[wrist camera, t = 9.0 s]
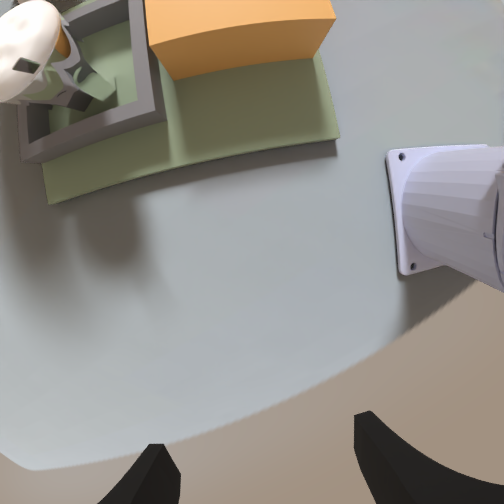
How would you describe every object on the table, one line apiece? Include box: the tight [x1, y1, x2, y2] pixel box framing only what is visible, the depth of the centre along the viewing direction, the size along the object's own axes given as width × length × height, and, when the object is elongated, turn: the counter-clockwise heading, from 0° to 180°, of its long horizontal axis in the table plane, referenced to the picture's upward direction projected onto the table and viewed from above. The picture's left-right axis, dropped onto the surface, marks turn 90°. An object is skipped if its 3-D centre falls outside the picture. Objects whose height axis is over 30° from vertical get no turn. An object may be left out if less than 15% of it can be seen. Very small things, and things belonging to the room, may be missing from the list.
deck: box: [17, 0, 340, 205], centre depth 13 cm, size 18×14×6 cm
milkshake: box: [0, 0, 116, 116], centre depth 10 cm, size 4×5×10 cm
